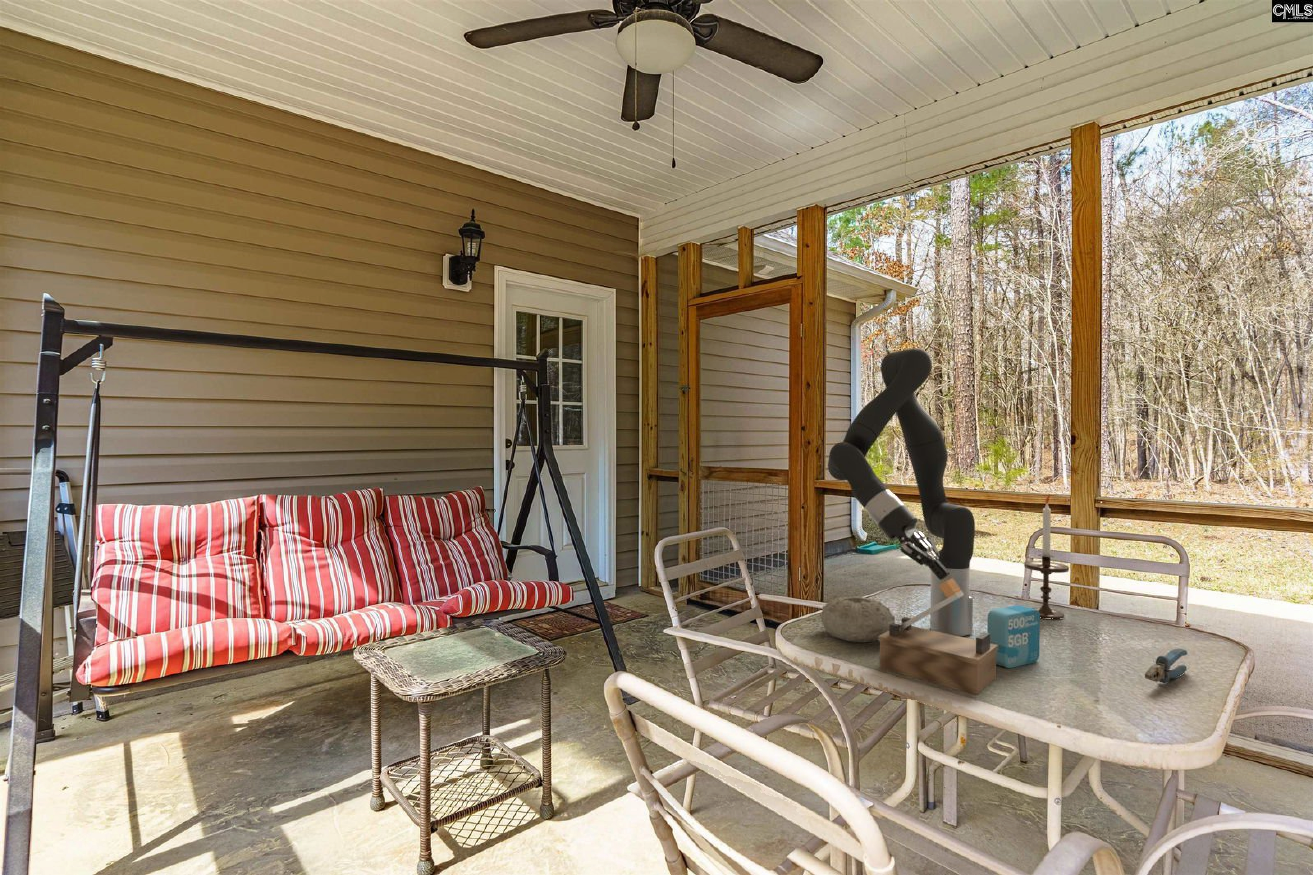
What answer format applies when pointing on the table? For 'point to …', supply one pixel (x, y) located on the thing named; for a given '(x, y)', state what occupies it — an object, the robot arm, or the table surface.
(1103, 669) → the table surface
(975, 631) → the table surface
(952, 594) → the latch bar
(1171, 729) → the table surface
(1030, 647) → the data package
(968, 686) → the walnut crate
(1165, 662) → the pliers
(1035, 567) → the candlestick
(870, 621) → the grey rounded stone lump
